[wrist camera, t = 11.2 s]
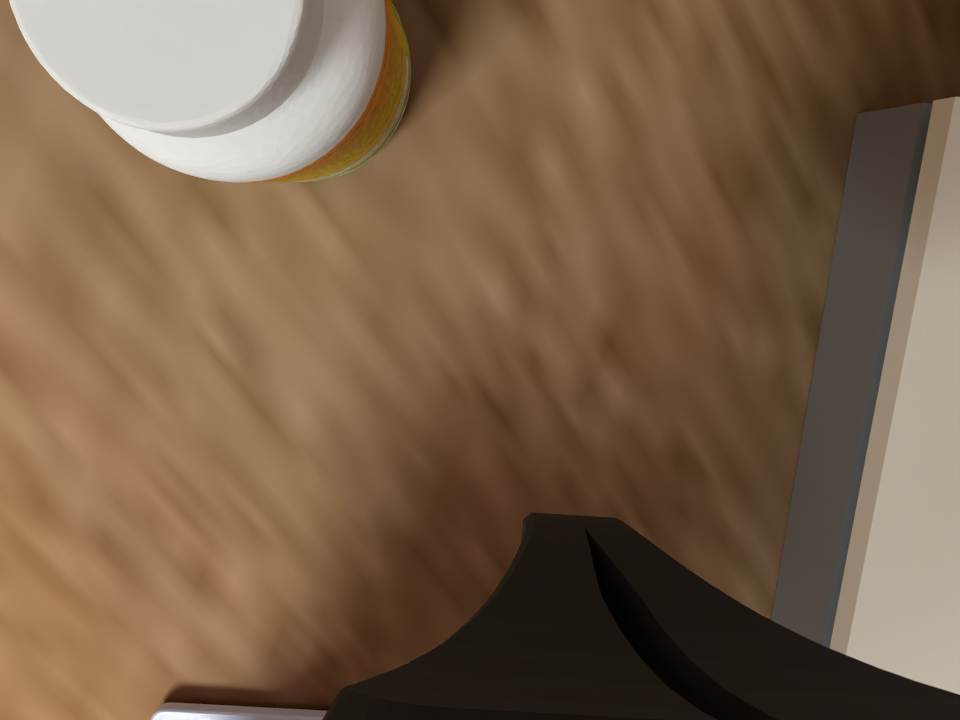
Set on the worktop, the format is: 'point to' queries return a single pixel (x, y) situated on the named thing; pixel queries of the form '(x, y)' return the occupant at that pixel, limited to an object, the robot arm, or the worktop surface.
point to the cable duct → (849, 364)
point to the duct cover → (915, 450)
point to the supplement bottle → (232, 79)
